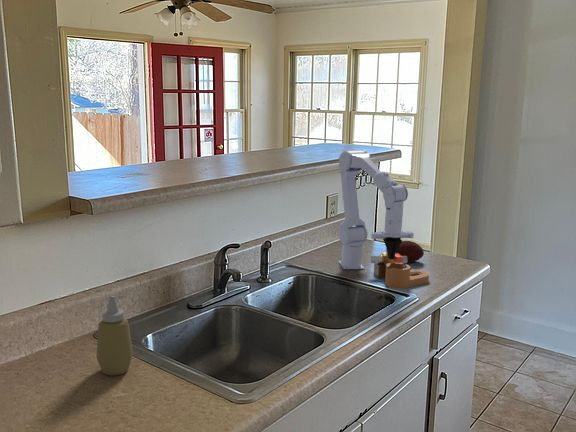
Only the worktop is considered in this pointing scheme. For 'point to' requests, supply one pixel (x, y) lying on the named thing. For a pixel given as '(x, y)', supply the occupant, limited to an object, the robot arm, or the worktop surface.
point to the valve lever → (397, 257)
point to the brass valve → (383, 263)
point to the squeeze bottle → (114, 341)
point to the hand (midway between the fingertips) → (391, 258)
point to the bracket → (404, 276)
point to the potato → (410, 251)
